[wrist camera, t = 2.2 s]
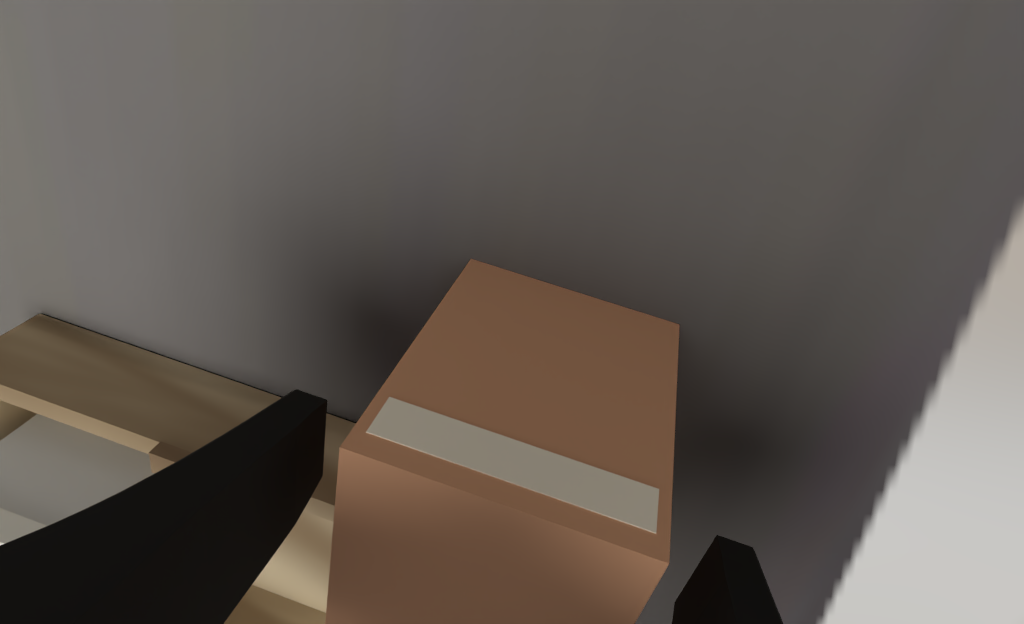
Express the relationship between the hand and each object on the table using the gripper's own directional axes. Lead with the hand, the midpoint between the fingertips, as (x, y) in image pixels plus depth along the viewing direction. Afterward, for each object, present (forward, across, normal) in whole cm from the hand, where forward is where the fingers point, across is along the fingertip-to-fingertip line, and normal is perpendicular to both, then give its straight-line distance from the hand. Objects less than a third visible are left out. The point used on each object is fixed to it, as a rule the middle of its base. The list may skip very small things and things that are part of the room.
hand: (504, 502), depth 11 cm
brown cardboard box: (+4, 0, 0) cm, 4 cm away
